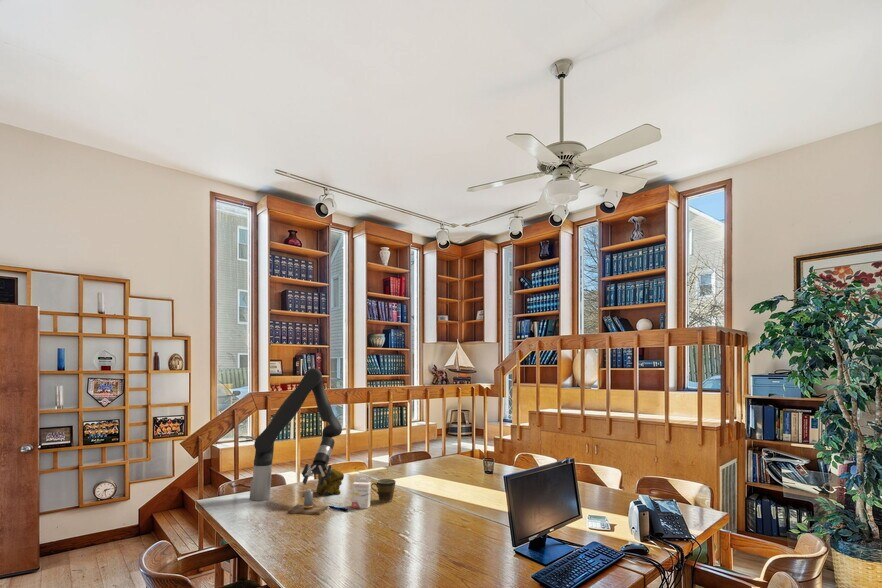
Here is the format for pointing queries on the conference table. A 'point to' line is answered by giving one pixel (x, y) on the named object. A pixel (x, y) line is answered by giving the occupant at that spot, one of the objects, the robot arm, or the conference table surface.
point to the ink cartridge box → (361, 492)
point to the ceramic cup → (385, 489)
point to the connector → (308, 499)
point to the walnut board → (314, 510)
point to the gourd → (330, 482)
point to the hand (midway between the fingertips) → (312, 484)
